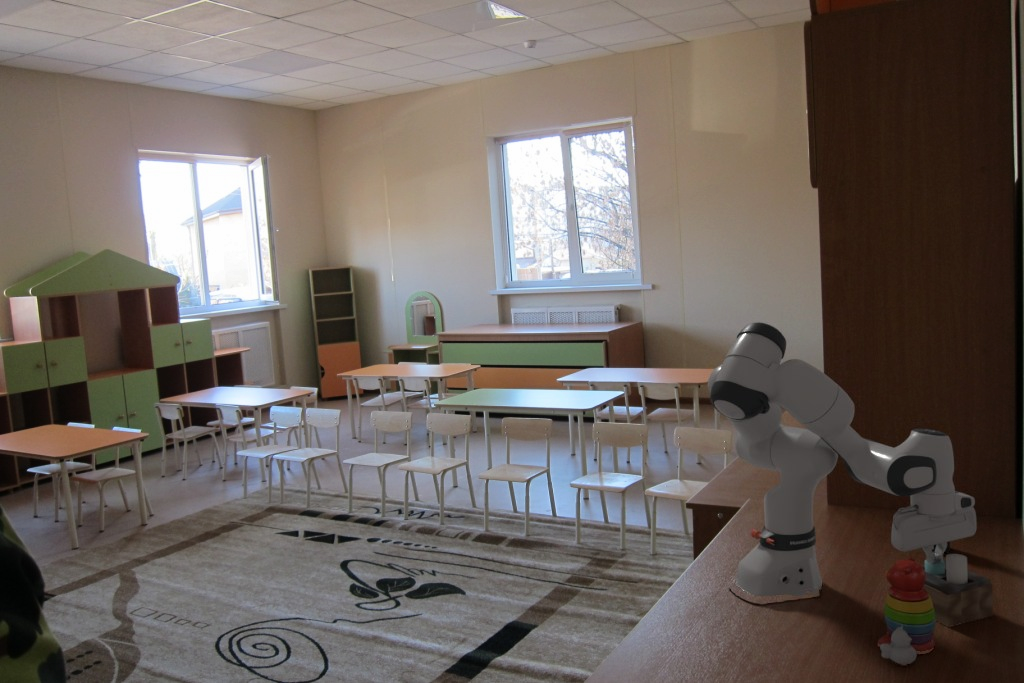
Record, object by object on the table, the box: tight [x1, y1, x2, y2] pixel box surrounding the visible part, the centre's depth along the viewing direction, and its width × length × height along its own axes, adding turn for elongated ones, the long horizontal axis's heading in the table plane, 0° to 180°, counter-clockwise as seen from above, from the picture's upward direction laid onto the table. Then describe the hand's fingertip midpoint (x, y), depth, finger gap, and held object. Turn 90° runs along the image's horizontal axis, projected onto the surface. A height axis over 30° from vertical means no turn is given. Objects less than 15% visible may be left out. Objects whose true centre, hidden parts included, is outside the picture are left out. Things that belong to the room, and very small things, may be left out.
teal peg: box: [924, 558, 945, 576], centre depth 190 cm, size 4×4×8 cm
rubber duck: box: [879, 626, 918, 664], centre depth 167 cm, size 5×7×8 cm
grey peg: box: [945, 553, 968, 586], centre depth 183 cm, size 4×4×8 cm
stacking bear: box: [877, 556, 936, 652], centre depth 173 cm, size 11×10×18 cm
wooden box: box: [921, 559, 994, 626], centre depth 187 cm, size 12×13×8 cm
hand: (934, 561), depth 189 cm, fingers closed, pressing on teal peg
